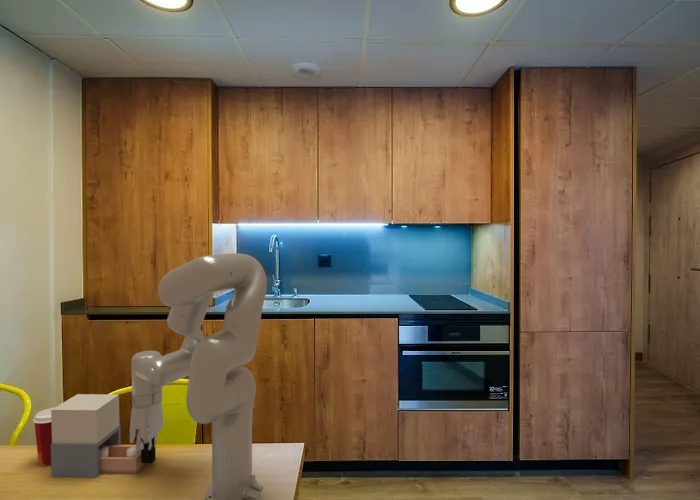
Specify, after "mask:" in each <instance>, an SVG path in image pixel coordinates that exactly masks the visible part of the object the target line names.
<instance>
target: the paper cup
mask: <svg viewBox="0 0 700 500" xmlns="http://www.w3.org/2000/svg"><path fill="white" fill-rule="evenodd" d="M53 408H54V407H50V408H47V409H43V410H41V411H40V410H39V411H38V412H36V414H35V415H34V418H33V419H32V422H33V423H34V430H35V431H34V432H35V443H36V451H37V460H38V465H39V466H40V467H49V466H50V467H51V444H52V420H51V410H52V409H53Z"/></svg>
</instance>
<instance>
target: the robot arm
mask: <svg viewBox="0 0 700 500" xmlns="http://www.w3.org/2000/svg"><path fill="white" fill-rule="evenodd" d="M267 284H268V281H267V275H266V272H265V270H264V267H263V265H262V264H261V263H260V261H259V260H257V259H256V257H253V256H252V255H249V254H246V253H239V252H237V253H236V252H233V253H232V252H231V253H223V254H209V255H203V256H199V257H196V258H194V259H192V260H191V261H189V262H187V263H184V264H182V265H181V266H180V265H179V266H178V267H176V268H174V269H172V270H170V271H168V272H167V273H165V275H163V277H162V278H161V279H160V282H159V283H158V288H157V293H158V298H159V300H160V302H161V303H162V304H163V305H164V306H167V307H171V309H170V310H169V313H168V316H167V319H166V323H167V327H168V328H169V329H170V330H172V331H173V332H175V333H177V334H179V335H182V336H184V339H183V342H182V344H181V346H180V349H178V350H175V351H173V352H170V353H167V354H164V355H162V354H161V353H160V352H159V351H157V350H142V351H140V352H137V353H135V354H134V355H133V356H132V357H131V361H130V362H131V365H130V366H131V406H132V407H131V411H130V419H129V421H130V422H129V443H130V444H131V445H133V444H135V445H136V450H141V462H142V463H145V464H153V463H154V462H155V461H156V458H157V457H156V454H157V453H156V452H157V451H156V445H157V437H158V436H157V435H158V434H159V432H160V431H162V428H163V425H164V412H163V387H165V386H168V385H169V384H172V383H174V382H176V381H178V380H179V381H180V379H184V378H186V377H188V381H187V382H188V383H187V390H186V399H185V401H186V409H187V411H188V415H189V416H190V417H191V419H192V420H194V421H195V422H196V423H198V424H201V425H204V424H205V425H207V424H210V423H211V424H212V425H211V447H212V448H211V463H212V468H211V469H212V470H211V472H212V473H211V474H212V475H211V476H212V479H211V481H212V484H210V485H209V486H208V488H207V490H206V492H205V500H261V497H262V492H263V490H264V486H263V485H261V484H259V483H258V481H257V480H256V475H254V474H253V411H254V410H253V409H254V403H255V399H256V393H257V392H256V391H257V385H256V383H257V382H256V379H255V376H254V375H253V373H252V372H251V371H250V370H249V369H248V368H247V367H244V366H245V365H247V364H249V363H250V362H251V361H252V360H253V359H254V357H255V355H256V351H257V347H258V340H259V332H260V325H261V321H262V320H261V319H262V311H263V306H264V302H265V299H266V293H267V286H268V285H267ZM231 289H233V290H234V291H233V294H232V295H231V297H230V299H229V300H228V303H227V305H226V308H225V309H224V317H223V318H224V319H223V324H222V326H221V330H219V331H218V332H215V333H212V334H209V335H207V336H204V333H203V330H202V324H203V322H204V320H205V317H206V315H207V312H208V309H209V306H210V304H211V302H212V299H213V296H214V295H215V293H218V292H221V291H227V290H231Z"/></svg>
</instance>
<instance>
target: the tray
mask: <svg viewBox="0 0 700 500" xmlns="http://www.w3.org/2000/svg"><path fill="white" fill-rule="evenodd" d="M98 448H99V474H129V475H130V474H131V475H132V474H133V475H134V474H137V473H138V472H139V471H140V470H141V469H142V468H143V466H145V465H146V463H142V462H141V450H136V444H135V445H133V444H131V445H130V444H127V445H125V444H124V445H123V444H121V445H100V446H99V447H98Z"/></svg>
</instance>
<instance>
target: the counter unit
mask: <svg viewBox="0 0 700 500" xmlns="http://www.w3.org/2000/svg"><path fill="white" fill-rule="evenodd" d="M52 408H53V409H52V410H51V420H52V444H51V465H50V467H51V472H50V473H51V478H85V479H86V478H88V479H89V478H90V479H93V478H95V479H98V477H99V476H100V473H99V448H98V447H99V446H100V445H122V444H121V442H122V438H121V437H122V436H121V435H122V434H121V424H120V395H119V394H109V393H108V394H106V393H105V394H104V393H103V394H97V393H95V394H94V393H93V394H92V393H90V394H88V393H87V394H85V393H76V395H74V396H72V397H71V398H69V399H67V400H65V401H63V402H62V403H60V404H58V405H57V406H55V407H52Z"/></svg>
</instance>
